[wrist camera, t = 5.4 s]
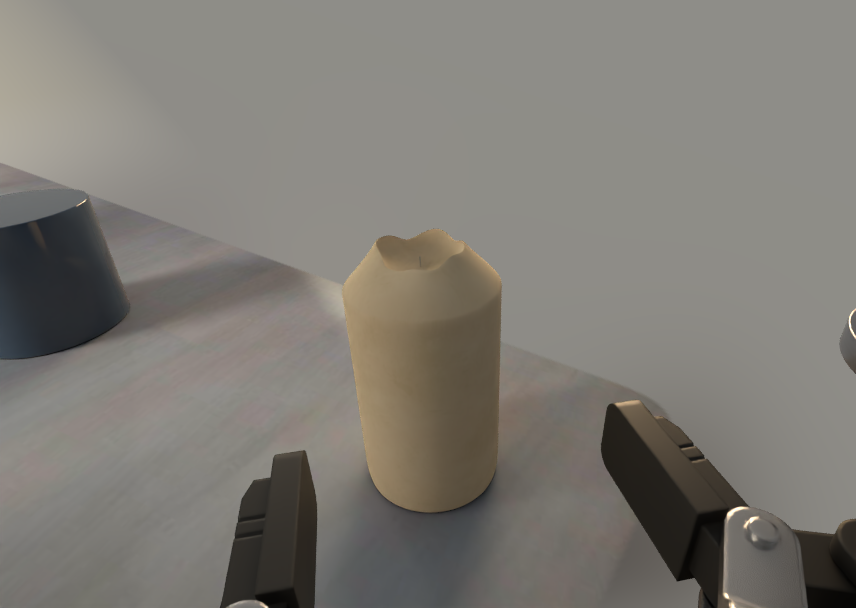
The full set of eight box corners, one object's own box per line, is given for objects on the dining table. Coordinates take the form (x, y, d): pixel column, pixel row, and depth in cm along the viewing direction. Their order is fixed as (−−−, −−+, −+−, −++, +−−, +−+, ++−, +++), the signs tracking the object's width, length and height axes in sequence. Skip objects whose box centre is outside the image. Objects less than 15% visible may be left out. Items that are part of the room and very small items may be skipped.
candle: (343, 489, 20) (301, 264, 16) (404, 405, 25) (386, 210, 20) (470, 534, 18) (467, 291, 14) (513, 435, 23) (522, 224, 18)
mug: (99, 283, 39) (58, 182, 36) (152, 313, 35) (112, 200, 31) (-73, 345, 32) (-147, 227, 29) (-35, 393, 28) (-118, 259, 24)
